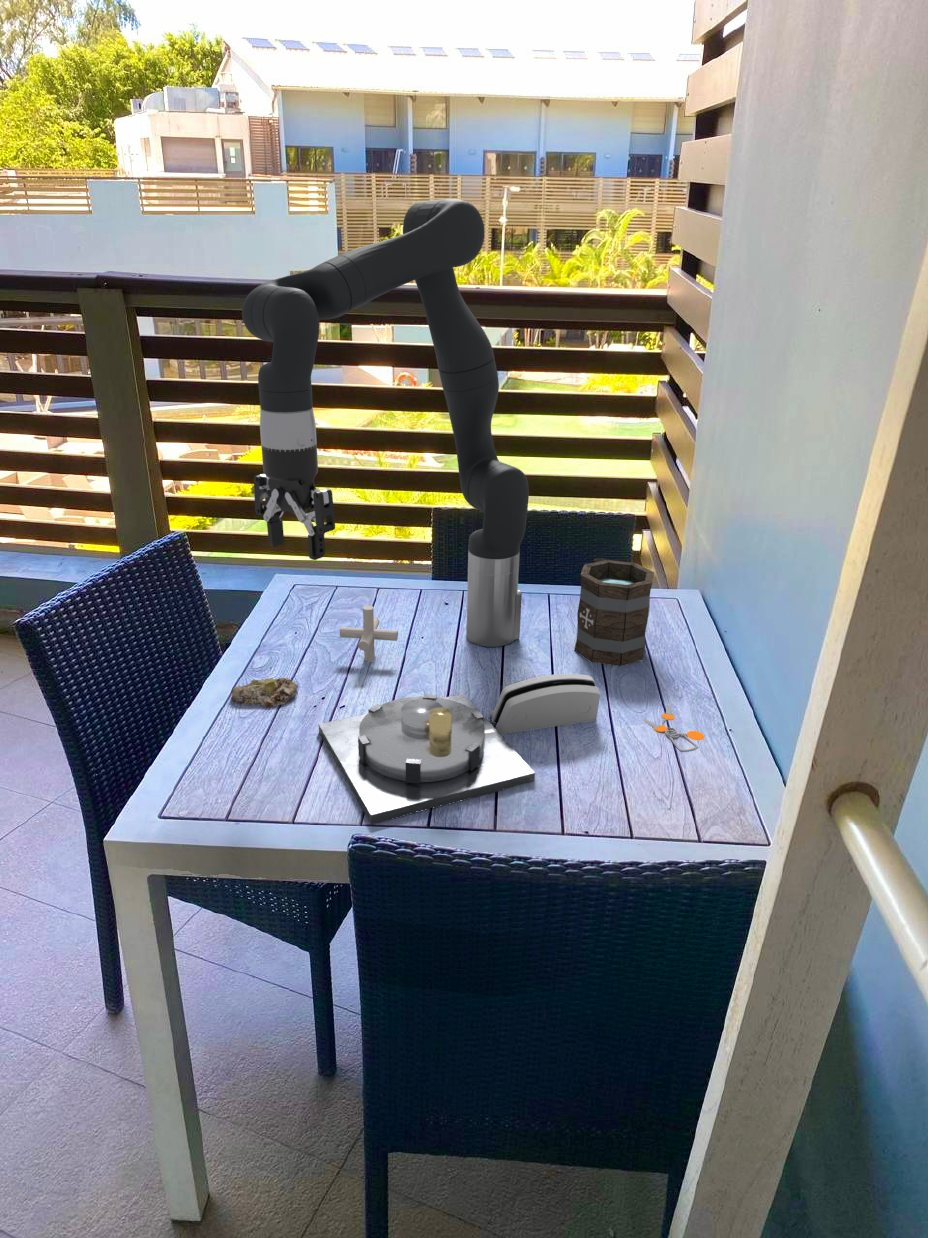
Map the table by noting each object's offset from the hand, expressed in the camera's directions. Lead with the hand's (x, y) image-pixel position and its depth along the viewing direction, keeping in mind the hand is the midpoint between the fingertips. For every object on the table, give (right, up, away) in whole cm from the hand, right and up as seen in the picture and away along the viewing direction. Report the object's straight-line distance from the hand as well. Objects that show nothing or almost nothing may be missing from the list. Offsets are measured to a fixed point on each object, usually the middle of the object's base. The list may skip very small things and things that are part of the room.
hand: (296, 551), depth 126 cm
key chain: (+57, -27, +9) cm, 64 cm away
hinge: (+37, -26, +9) cm, 46 cm away
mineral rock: (-8, -23, +15) cm, 29 cm away
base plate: (+18, -30, 0) cm, 35 cm away
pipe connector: (+8, -17, +28) cm, 33 cm away
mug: (+51, -14, +36) cm, 64 cm away
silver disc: (+18, -28, -1) cm, 34 cm away
